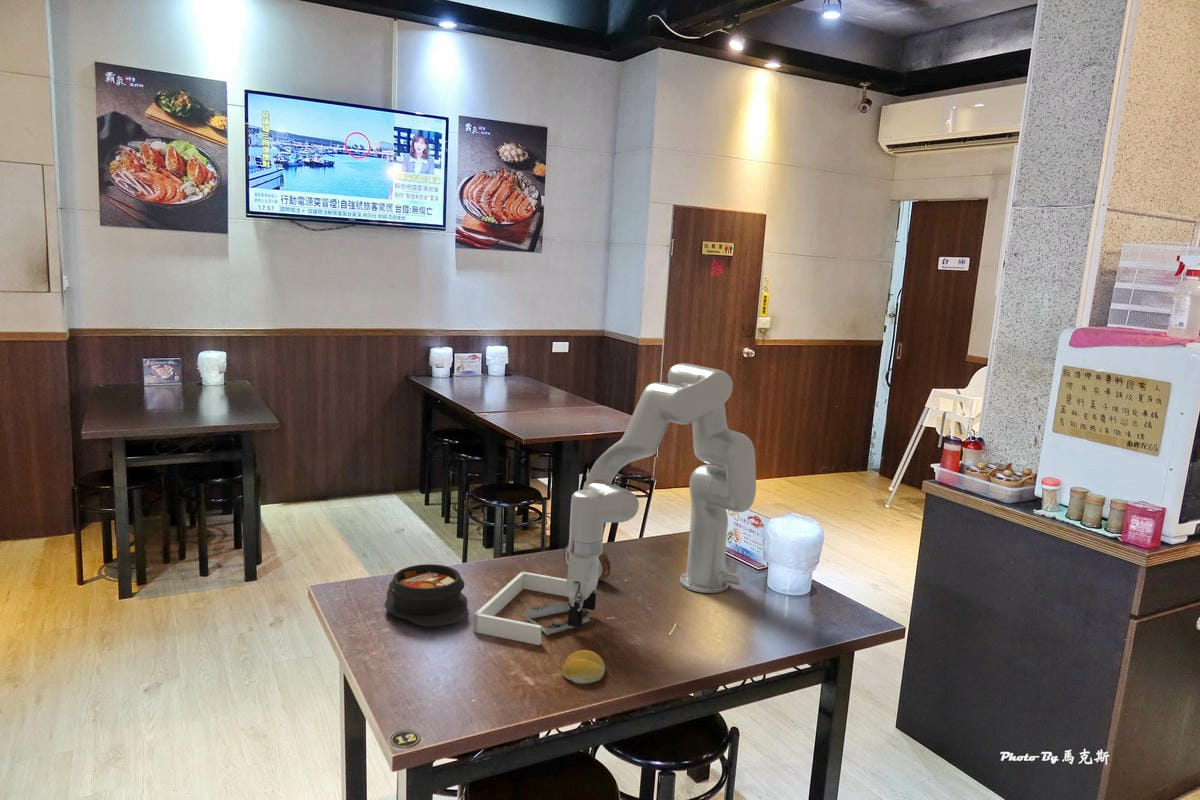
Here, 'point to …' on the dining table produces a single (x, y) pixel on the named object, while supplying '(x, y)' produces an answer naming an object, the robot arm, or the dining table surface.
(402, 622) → the dining table surface
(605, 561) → the tin
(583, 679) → the bread roll
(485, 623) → the box
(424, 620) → the casserole
